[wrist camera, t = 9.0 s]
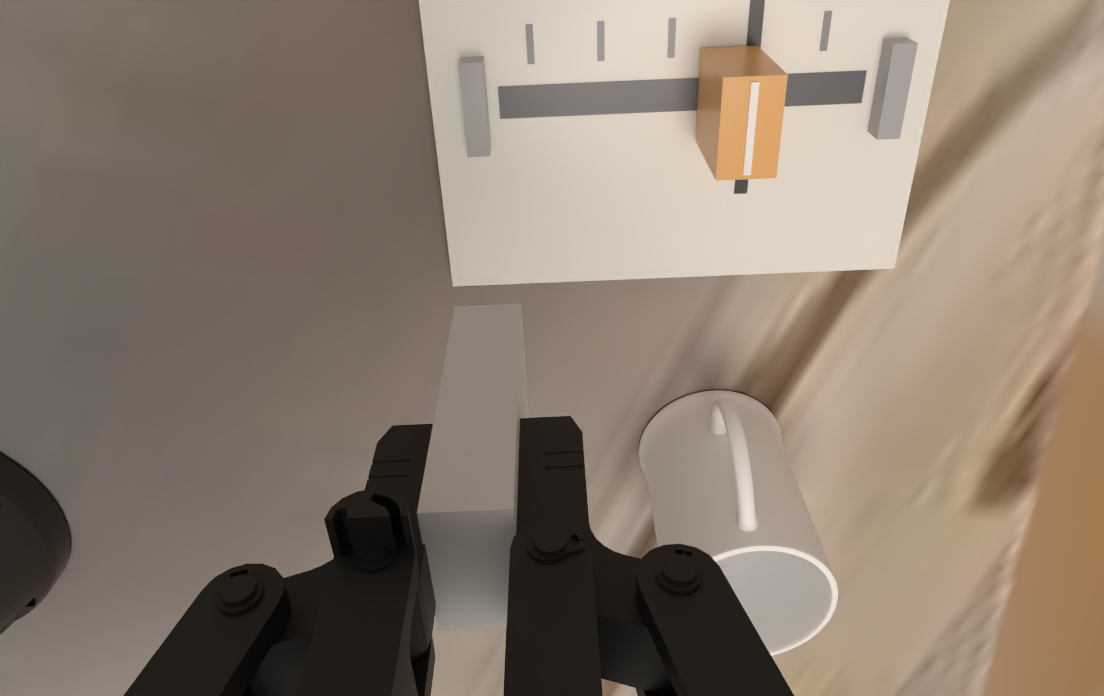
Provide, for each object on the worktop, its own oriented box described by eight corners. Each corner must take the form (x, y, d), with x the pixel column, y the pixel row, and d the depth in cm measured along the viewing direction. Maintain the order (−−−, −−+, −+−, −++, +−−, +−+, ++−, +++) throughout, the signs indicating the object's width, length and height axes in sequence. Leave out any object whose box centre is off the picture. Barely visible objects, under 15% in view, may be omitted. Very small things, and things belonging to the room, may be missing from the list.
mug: (643, 342, 45) (672, 490, 35) (797, 338, 45) (872, 485, 34) (636, 501, 51) (659, 665, 41) (771, 497, 51) (828, 661, 41)
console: (456, 268, 42) (450, 297, 39) (416, -77, 34) (405, -70, 31) (880, 251, 42) (903, 279, 39) (948, -102, 33) (984, -97, 31)
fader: (695, 141, 36) (716, 181, 32) (700, 48, 34) (723, 78, 30) (748, 138, 36) (777, 178, 32) (757, 45, 34) (788, 75, 30)
